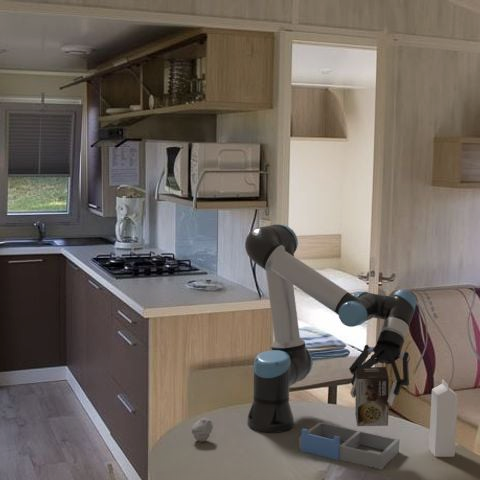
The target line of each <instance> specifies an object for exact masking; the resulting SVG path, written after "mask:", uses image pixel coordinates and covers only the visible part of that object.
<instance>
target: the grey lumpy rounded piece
mask: <svg viewBox="0 0 480 480" xmlns="http://www.w3.org/2000/svg"><path fill="white" fill-rule="evenodd" d="M213 423H214V422H213V421H212V420H210V419H208V418H207V417H201V418H200V419H199V420H197V421H196V422H195V423H194V424H193V426H192V428H191V433H192V434H193V438H194V439H195V440H196V441H197V442H199V443H200V442H203V443H204V442H206V441H207V440H208V439H209V438H210V435H211V433H212V431H213V427H214V424H213Z"/></svg>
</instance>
